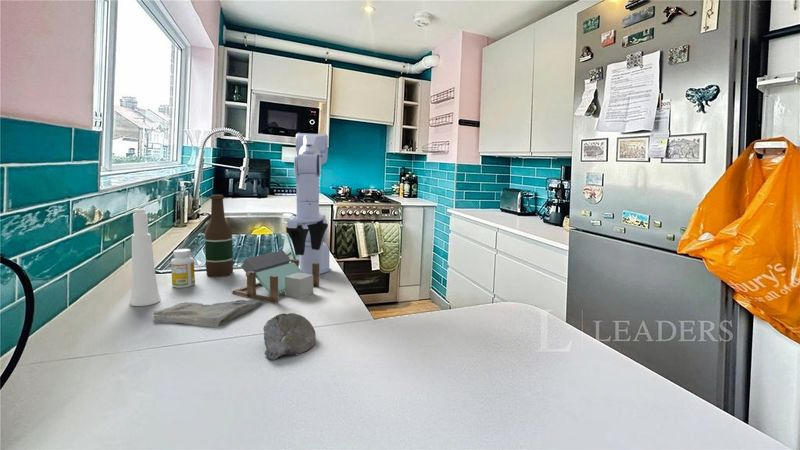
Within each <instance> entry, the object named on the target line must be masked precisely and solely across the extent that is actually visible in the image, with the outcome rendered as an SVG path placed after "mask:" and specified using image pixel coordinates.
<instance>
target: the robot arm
mask: <svg viewBox="0 0 800 450" xmlns="http://www.w3.org/2000/svg"><path fill="white" fill-rule="evenodd" d="M328 143H329V136H328V134H326V133H324V134H323V133H321V134H320V133H303V132H302V133H301V132H297V133H296V134H295V150H296V155H294V160H293V161H294V162H293V170H294V176H295V183H296V216H292V217H293V218H291V219H287V226H286V228H285V231H286V233H287V234H288V236H289V238H290V240H291V242H292V247H293V249H294V254H295V255H298V256H299V269H300V270H301V271H302V272H303V273H304V274H310V275H312V263H319V275H321V274H324V273H327V272H330V271H332V270H331V269H332V268H331V267H330V248H329V247H328V245H327V242H328V227H329V223H328V220H327V218H326V215H325V214H324V215H323V214H320V177H321V173H322V165H324V164H326V163H327V160H328V153H329V144H328ZM329 270H330V271H329Z"/></svg>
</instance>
